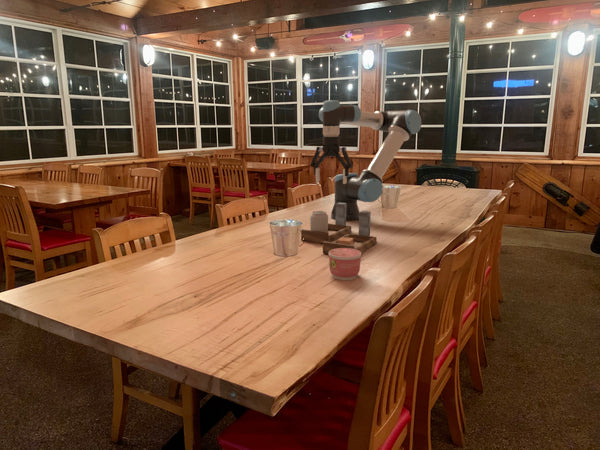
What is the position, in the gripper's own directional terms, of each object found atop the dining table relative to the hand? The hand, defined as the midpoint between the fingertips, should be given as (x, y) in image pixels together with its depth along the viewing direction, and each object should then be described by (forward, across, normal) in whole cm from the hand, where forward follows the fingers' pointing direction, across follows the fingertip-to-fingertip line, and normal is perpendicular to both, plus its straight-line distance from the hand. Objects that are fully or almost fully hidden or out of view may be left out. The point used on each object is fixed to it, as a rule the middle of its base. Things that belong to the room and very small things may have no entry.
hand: (331, 182), depth 202 cm
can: (+21, +4, -22) cm, 31 cm away
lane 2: (+21, +21, -27) cm, 40 cm away
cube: (+21, +20, -34) cm, 45 cm away
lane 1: (+21, +5, -13) cm, 25 cm away
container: (+21, +30, -60) cm, 70 cm away
